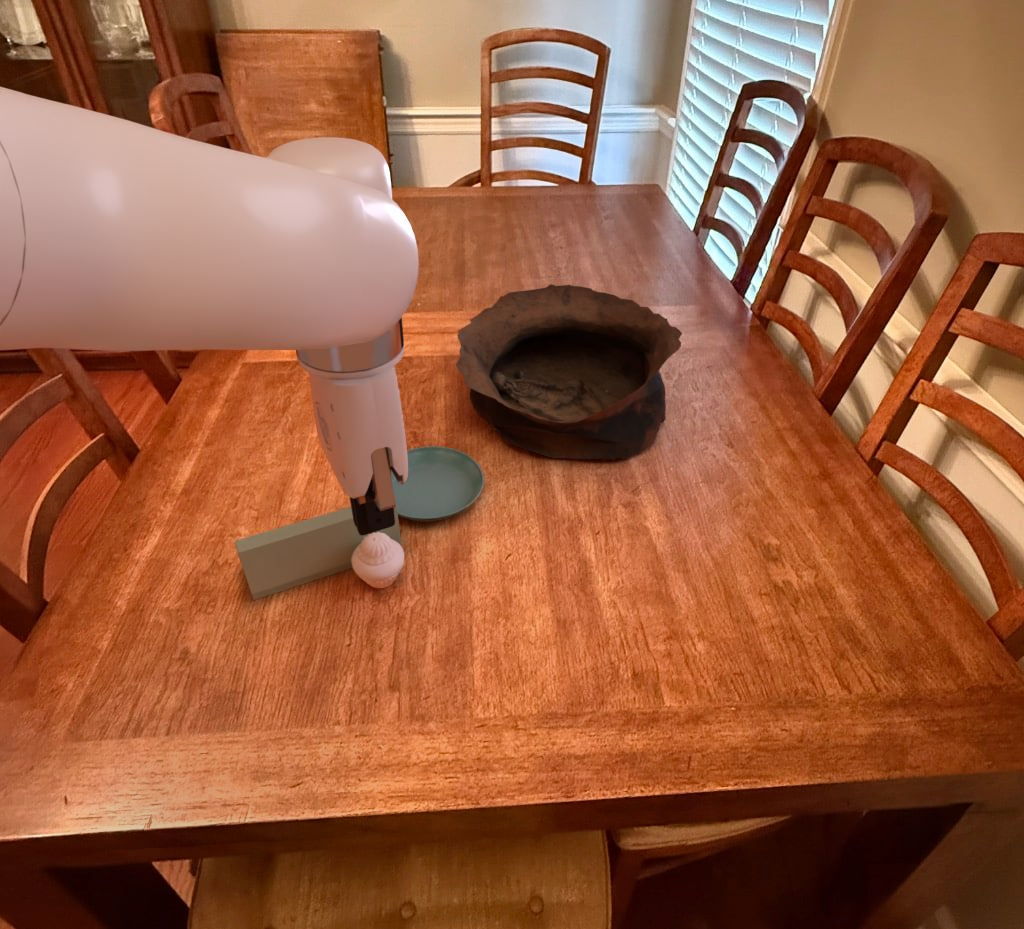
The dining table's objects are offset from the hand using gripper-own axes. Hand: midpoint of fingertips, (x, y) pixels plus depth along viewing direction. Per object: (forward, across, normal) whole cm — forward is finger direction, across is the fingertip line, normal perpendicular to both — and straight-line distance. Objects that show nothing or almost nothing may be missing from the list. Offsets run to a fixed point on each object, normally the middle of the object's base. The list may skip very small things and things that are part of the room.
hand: (374, 524), depth 60 cm
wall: (+21, -18, -2) cm, 28 cm away
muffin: (+21, -13, +3) cm, 25 cm away
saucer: (+21, -24, +14) cm, 35 cm away
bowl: (+20, -34, +40) cm, 56 cm away
